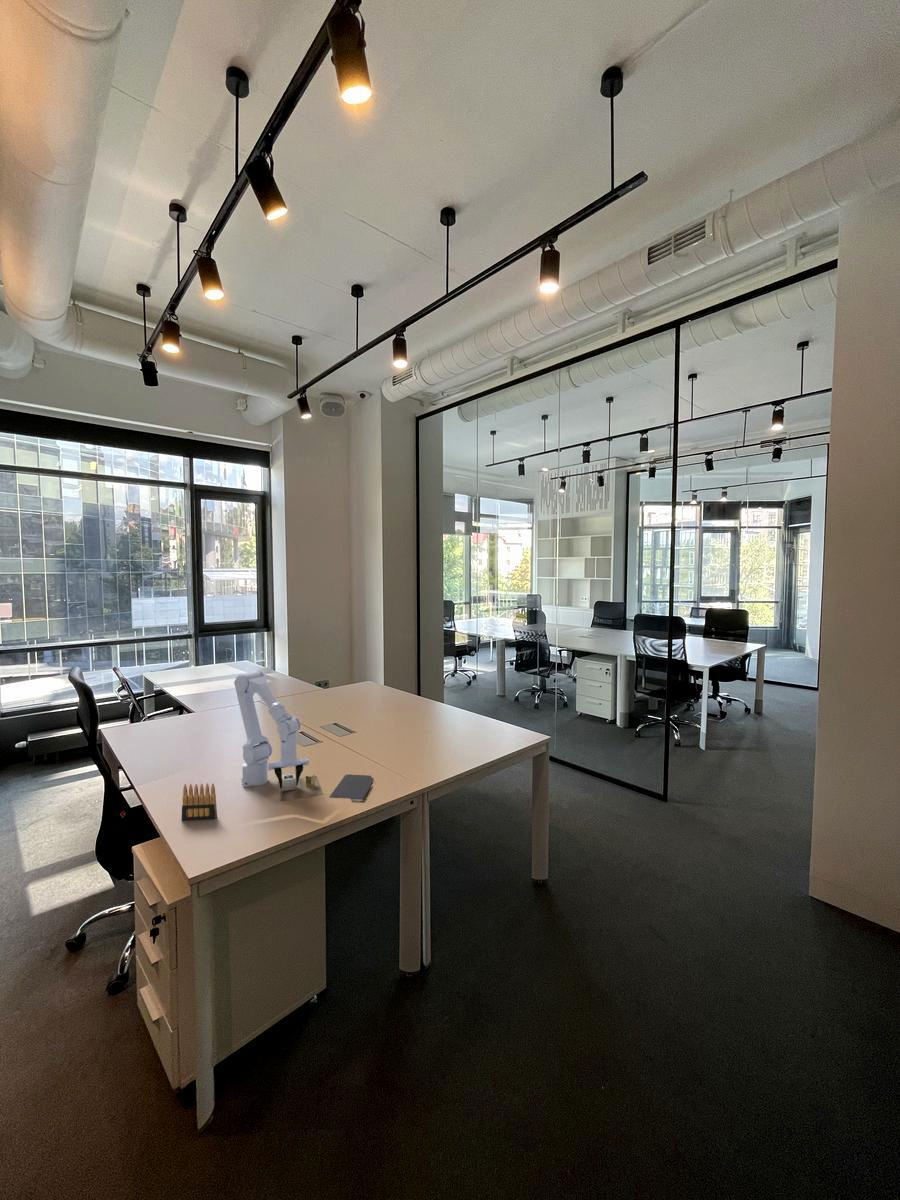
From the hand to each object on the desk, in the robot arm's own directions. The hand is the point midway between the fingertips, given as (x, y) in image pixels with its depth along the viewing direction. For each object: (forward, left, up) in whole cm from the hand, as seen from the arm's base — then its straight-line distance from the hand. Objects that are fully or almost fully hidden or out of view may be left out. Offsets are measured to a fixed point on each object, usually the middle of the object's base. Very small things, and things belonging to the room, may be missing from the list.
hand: (288, 785), depth 183 cm
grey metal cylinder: (0, 0, -1) cm, 1 cm away
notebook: (+23, -6, -3) cm, 24 cm away
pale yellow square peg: (+8, 0, -1) cm, 8 cm away
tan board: (+4, 0, -2) cm, 5 cm away
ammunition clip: (-29, -10, -3) cm, 31 cm away
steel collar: (0, 0, -1) cm, 1 cm away
